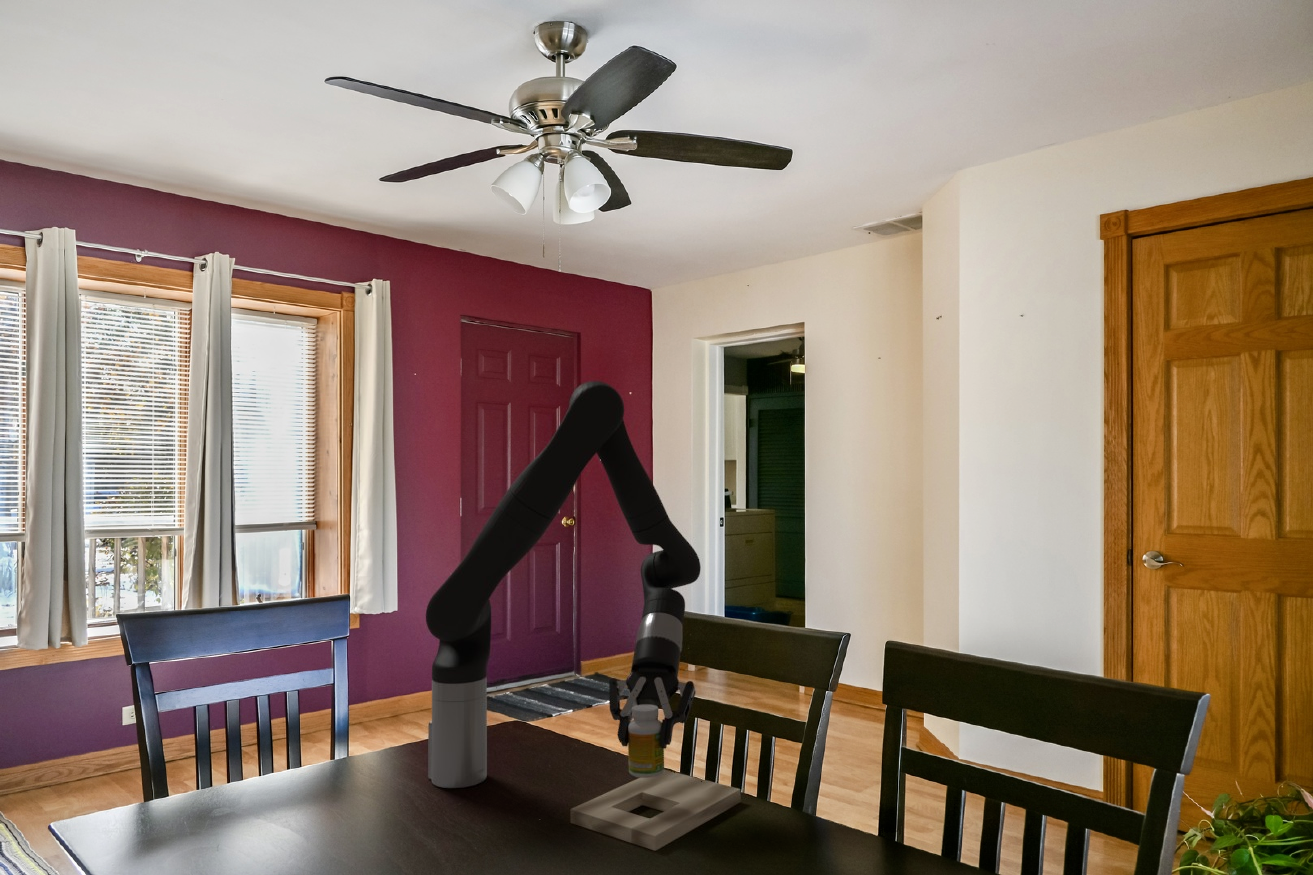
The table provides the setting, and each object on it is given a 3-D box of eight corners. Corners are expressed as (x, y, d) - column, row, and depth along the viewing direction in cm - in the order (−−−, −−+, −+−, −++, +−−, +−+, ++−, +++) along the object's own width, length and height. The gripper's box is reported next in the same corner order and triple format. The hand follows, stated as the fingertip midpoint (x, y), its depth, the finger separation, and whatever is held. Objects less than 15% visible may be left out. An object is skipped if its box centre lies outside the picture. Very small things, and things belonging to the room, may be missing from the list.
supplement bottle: (660, 779, 126) (658, 712, 127) (624, 777, 127) (623, 711, 128) (667, 767, 132) (665, 703, 132) (633, 765, 133) (632, 701, 133)
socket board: (570, 822, 128) (570, 809, 128) (660, 780, 145) (660, 768, 145) (655, 850, 118) (655, 835, 118) (740, 801, 135) (740, 788, 135)
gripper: (611, 633, 139) (591, 730, 127) (698, 635, 136) (687, 734, 124) (619, 659, 144) (601, 754, 132) (704, 661, 141) (694, 759, 129)
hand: (643, 744), depth 128 cm, fingers closed on supplement bottle, 5 cm apart
